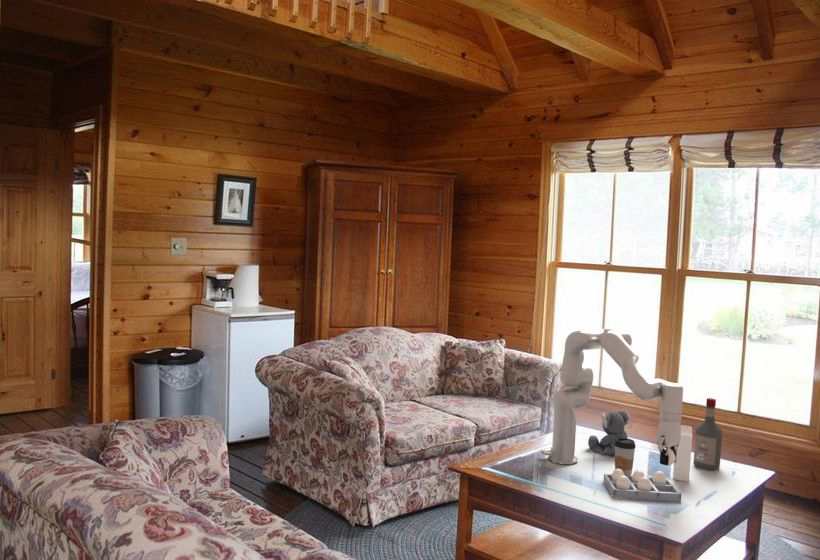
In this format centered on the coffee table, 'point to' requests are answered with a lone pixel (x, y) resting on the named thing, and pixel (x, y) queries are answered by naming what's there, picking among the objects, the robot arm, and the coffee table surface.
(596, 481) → the coffee table surface
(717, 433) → the liquor
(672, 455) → the egg
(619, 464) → the coffee cup
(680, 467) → the milk
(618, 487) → the carton
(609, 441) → the koala plush
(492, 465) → the coffee table surface
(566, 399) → the robot arm
